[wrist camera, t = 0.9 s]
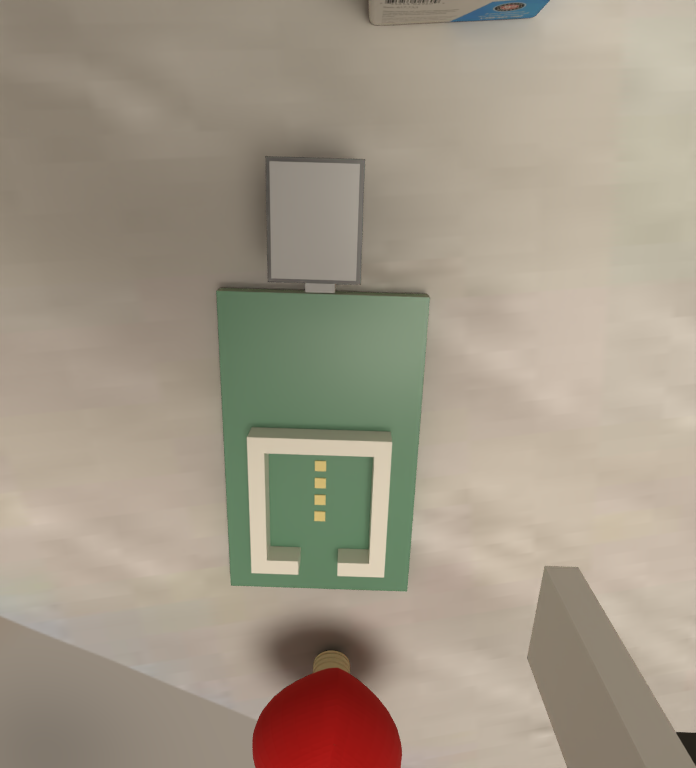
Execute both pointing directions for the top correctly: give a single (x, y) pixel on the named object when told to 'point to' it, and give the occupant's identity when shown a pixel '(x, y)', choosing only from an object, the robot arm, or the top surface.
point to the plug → (314, 221)
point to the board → (321, 435)
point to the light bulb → (326, 723)
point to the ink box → (450, 10)
